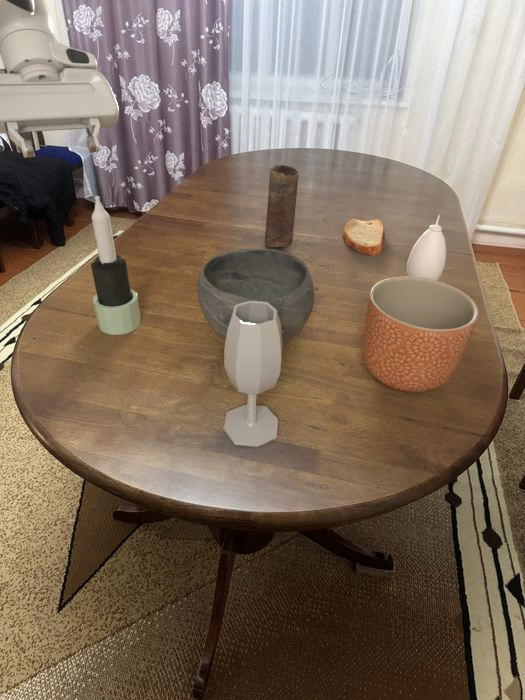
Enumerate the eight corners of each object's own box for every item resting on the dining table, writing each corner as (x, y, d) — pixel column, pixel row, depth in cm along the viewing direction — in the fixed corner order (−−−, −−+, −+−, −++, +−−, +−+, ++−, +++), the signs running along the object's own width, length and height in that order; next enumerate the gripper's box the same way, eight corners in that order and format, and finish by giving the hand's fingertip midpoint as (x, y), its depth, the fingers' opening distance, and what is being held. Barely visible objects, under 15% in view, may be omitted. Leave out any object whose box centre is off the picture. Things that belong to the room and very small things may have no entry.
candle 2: (291, 240, 129) (297, 165, 117) (293, 251, 123) (300, 174, 111) (264, 239, 129) (267, 164, 117) (265, 250, 123) (268, 173, 111)
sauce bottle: (443, 292, 108) (466, 217, 98) (419, 300, 105) (440, 223, 94) (418, 278, 114) (437, 205, 103) (395, 285, 110) (412, 211, 100)
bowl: (180, 329, 92) (174, 260, 83) (264, 299, 103) (267, 235, 94) (241, 387, 79) (242, 312, 70) (330, 345, 90) (341, 276, 81)
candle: (137, 317, 94) (119, 194, 79) (121, 330, 90) (99, 203, 75) (116, 311, 96) (94, 189, 81) (100, 323, 92) (74, 197, 77)
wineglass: (218, 411, 74) (215, 298, 62) (271, 404, 76) (278, 292, 64) (228, 453, 68) (227, 335, 55) (286, 443, 70) (297, 327, 57)
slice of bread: (370, 258, 122) (373, 245, 119) (322, 235, 133) (323, 222, 130) (412, 242, 131) (415, 229, 129) (363, 222, 142) (365, 210, 140)
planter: (373, 335, 93) (388, 267, 84) (460, 364, 87) (487, 293, 78) (340, 382, 81) (354, 308, 72) (438, 420, 75) (467, 344, 66)
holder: (98, 337, 89) (93, 310, 86) (98, 314, 95) (92, 289, 92) (142, 331, 91) (138, 305, 88) (139, 310, 97) (135, 284, 94)
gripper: (-46, 53, 64) (-18, 145, 63) (104, 54, 73) (131, 135, 72) (-37, 85, 70) (-11, 170, 69) (101, 83, 78) (126, 158, 78)
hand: (63, 152), depth 70 cm, fingers open, 8 cm apart
